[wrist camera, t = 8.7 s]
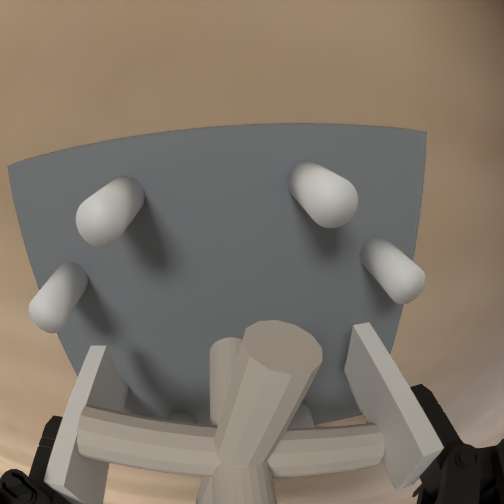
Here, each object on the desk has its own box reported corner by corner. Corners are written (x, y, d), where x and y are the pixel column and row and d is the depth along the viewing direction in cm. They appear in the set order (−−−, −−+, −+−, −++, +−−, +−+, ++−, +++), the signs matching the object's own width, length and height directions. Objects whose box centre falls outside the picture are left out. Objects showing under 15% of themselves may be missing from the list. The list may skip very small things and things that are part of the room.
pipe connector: (120, 404, 14) (94, 579, 5) (117, 224, 10) (-42, 512, 1) (301, 421, 16) (343, 578, 7) (377, 269, 12) (532, 476, 3)
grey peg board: (24, 159, 11) (-36, 183, 7) (408, 128, 13) (472, 142, 9) (116, 419, 19) (105, 469, 15) (363, 397, 20) (385, 444, 16)
